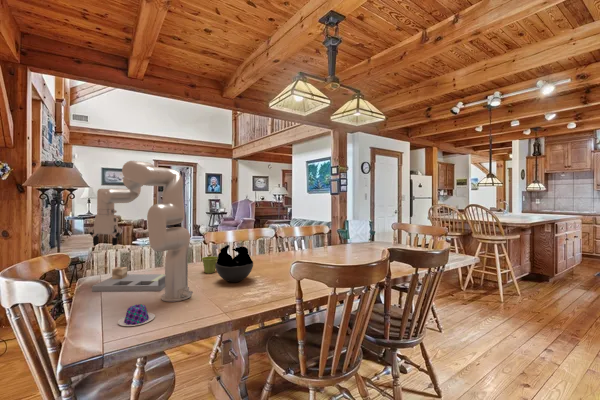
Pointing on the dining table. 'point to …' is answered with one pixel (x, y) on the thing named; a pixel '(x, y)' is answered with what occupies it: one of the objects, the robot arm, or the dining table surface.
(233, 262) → the black bowl plant
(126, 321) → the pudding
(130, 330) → the dining table surface
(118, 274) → the block
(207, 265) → the plant pot
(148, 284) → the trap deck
